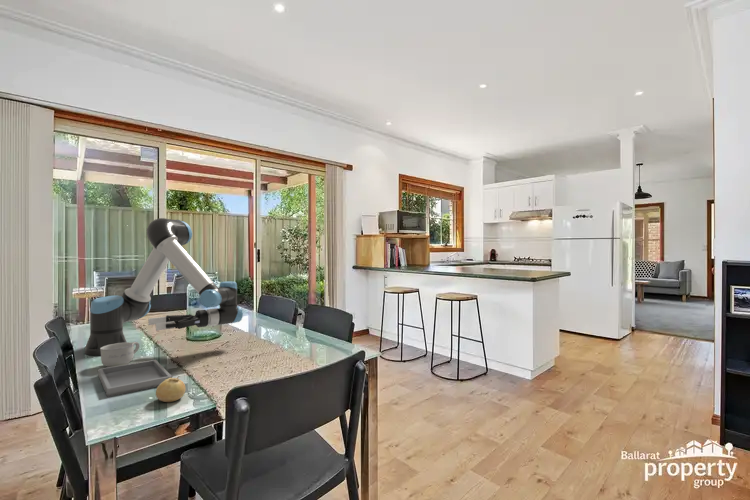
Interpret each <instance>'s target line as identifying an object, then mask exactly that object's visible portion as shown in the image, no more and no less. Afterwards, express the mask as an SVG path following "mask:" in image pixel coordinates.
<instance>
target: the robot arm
mask: <svg viewBox="0 0 750 500" xmlns="http://www.w3.org/2000/svg"><path fill="white" fill-rule="evenodd" d="M146 236H147V239H148V241H149V242H150V244H151V245H152V250H151V252H150V253H149V255H148V257H147V259H146V261H145V262H144V264H143V265H142V267H141V269H140V270H139V272H138V273H137V276H136V277H135V279H134V281H133V283H132V284H131V286H130V287H128V288H125V290H124V291H123V293H122V294H121V295H107V296H101V297H98V298H95V299H93V300H92V301H91V303H90V309H89V312H90V316H89V319H90V320H89V321H90V322H89V323H90V325H89V326H90V327H89V329H90V331H89V336H88V339H87V342H86V344H85V347H84V354H85V355H88V356H101V350H100V348H101V347H104V346H107V345H111V344H116V343H127V339H126V336H125V333H124V323H127V322H128V323H129V322H133V321H137V320H140V319H141V318H144V317H145V316H146V315H148V314H149V312H150V310H151V307H152V304H151V300H152V297H151V293H152V292H153V290H154V288H155V286H156V284H157V283H158V282H159V279H160V278H161V276H162V274H163V272H164V271H165V269H166V268H167V266H168V265H169V264H168V263H169V262H170V263H171V264H172V265H173V267H175V269H176V270H177V271H178V272H179V273H180V275H182V277H183V278H184V279H185V281H187V282H188V283H189V285H190V286H191V287H192V288H193V289H194V290H195V291H196V293H198V295H199V302H200V304H201V305H202V306H203V307H205V308H207V309H198V310H196V312H195V315H192V314H189V313H188V314H179V315H178V314H177V315H176V314H175V315H166V316H160V317H159V316H158V317H151V318H150V317H149V318H148V320H147V321H148V322H147V323H148V326H154V325H155V331H163V330H171V329H178V330H181V329H185V328H190V327H193V326H196V327H197V328H206V327H213V328H214V327H215V326H220V325H221V326H222V325H228V324H235V323H239V322H241V321H242V319H243V316H244V315H243V313H244V312H243V309H242V307H241V306H240V305H238V283H237V282H236V281H234V280H233V281H231V280H229V281H228V280H227V281H221V282H219V287H218V285H217V284H215V282H213V281H214V280H212V279H211V277H209V276H208V275H207V273H206V272H205V271H204V270H203V269H202V268H201V267H200V266H199V264H198V263H197V262H196V261H195V260H194V259H193V257H192V256H191V255H190V254H189V253H188V252H187V251H186V249H185V248H184V247H183V246H184V245H187V244H188V243H189V242H190V241H191V240H192V237H193V231H192V228H191V226H190V224H189V223H187V222H186V221H183V220H180V219H172V218H165V217H161V218H155V219H154V220H151V222H150V223H149V224H148V225H147V228H146ZM217 306H219V308H217ZM215 307H216V308H215Z"/></svg>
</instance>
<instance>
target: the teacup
mask: <svg viewBox="0 0 750 500" xmlns="http://www.w3.org/2000/svg"><path fill="white" fill-rule="evenodd" d="M126 342H127V341H126ZM134 345H135V347H134ZM134 348H135V349H134ZM139 349H140V343H139V342H138V341H133V342H130V341H129V342H127V343H116V344H111V345H107V346H104V347H101V348H100V350H101V355H100V360H101V364H102V365H103V366H105V367H106V368H107V367H114V366H120V365H126V364H130V363H131V362H132V360H133V359H134V355H135V354H136V352H138V350H139Z"/></svg>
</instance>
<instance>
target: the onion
mask: <svg viewBox="0 0 750 500" xmlns="http://www.w3.org/2000/svg"><path fill="white" fill-rule="evenodd" d="M179 377H180V376H177V377H172V378H168V379H166V380H165V381H163V382H162V383H161V384H160V385H159V386H158V387H156V389H155V396H156V398H157V400H159V402H163V403H171V402H176V401H178V400H180V399H181V398H182V397H183V396H184V395H185V392H186V384H185V382H184V381H182V380H181V379H179Z"/></svg>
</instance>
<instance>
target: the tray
mask: <svg viewBox="0 0 750 500" xmlns="http://www.w3.org/2000/svg"><path fill="white" fill-rule="evenodd" d="M97 372H98V375H97V376H98V378H99V381H100V383H101V385H102V388H103V389H104V392H106V393H105V395H106V397H107V398H110V397H114V396H119V395H123V394H128V393H133V392H138V391H142V390H149V389H153V388H157V387H158V386H159V385H160V384H161V383H162V382H163V381H165V380H166V379H168V378H173V376H172V374H171V373H169V372H168V370H167V369H165V367H164V366H163V365H162V364H161V363H160V362H159V361H158V360H157V359H151V360H145V361H140V362H139V361H138V362H132V363H129V364H126V365H120V366H114V367H107V366H106V367H101V368H98V370H97Z"/></svg>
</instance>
